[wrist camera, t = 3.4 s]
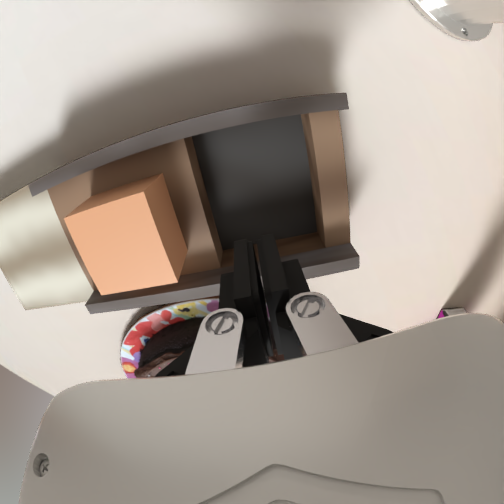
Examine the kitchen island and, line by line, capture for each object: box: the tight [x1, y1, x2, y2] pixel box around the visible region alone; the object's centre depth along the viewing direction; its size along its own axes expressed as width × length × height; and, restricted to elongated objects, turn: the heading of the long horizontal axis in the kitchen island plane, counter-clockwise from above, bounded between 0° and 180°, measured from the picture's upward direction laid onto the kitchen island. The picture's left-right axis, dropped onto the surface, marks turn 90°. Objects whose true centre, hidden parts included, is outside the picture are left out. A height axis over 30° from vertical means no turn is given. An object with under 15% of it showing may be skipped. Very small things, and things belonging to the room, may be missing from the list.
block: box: [64, 173, 188, 295], centre depth 18 cm, size 6×6×4 cm
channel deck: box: [0, 93, 359, 314], centre depth 20 cm, size 12×34×5 cm, turn 101°
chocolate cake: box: [120, 295, 285, 379], centre depth 31 cm, size 28×28×7 cm
